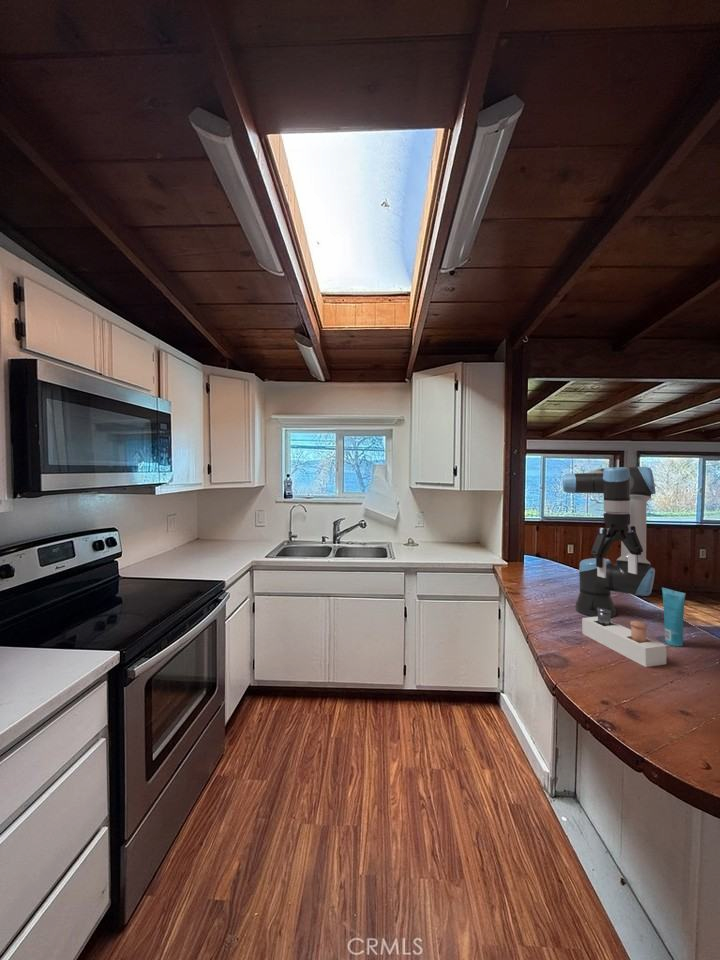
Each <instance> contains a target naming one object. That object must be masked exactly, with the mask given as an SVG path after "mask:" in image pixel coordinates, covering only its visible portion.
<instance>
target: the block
mask: <svg viewBox="0 0 720 960" xmlns="http://www.w3.org/2000/svg"><path fill="white" fill-rule="evenodd" d="M581 618H582V620H581V622H582V625H581V626H582V631H581V632H582V634H583V635H584V636H586V637H588V638H590V639H591V640H594V641H595V642H597V643H600V644H601V645H603V646H605V647H607V648H608V649H611V650H613V651H614V652H616V653H617V654H620V655H622V656H624V657H626V658H627V659H630V660H632V661H633V662H635V663H637V664H638V665H641V666H643V667H645V668H649V667H656V666H662V665H667V645H666V644H663V643H661V642H659V641H657V640H655V639H653V638H650V637H648V636H646V642H644V643H638V642H636V641H634V640H632V639H631V628H628V627H626V626H623V625H621V624H619V623H616V622H614V621H612V620H611V626H602V625H600V624H598V616H597V617H593V616H589V617H581Z"/></svg>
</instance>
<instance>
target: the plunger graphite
mask: <svg viewBox="0 0 720 960" xmlns="http://www.w3.org/2000/svg"><path fill="white" fill-rule="evenodd" d="M597 611H598V624H600V625H602V626H611V621H612V620H611V618H612V617H610V613H611V609H609V608H606V607H597Z"/></svg>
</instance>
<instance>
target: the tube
mask: <svg viewBox="0 0 720 960" xmlns="http://www.w3.org/2000/svg"><path fill="white" fill-rule="evenodd" d="M661 592H662V603H663V618H664V619H663V620H664V622H663V624H664V640H665V643H666V644H667V645H670V646H673V647H683V645H684V614H685V613H684V612H685V599H686V594H687V593H686V592H681V591H677V590H673V589H670V588H667V587H666V588H665V587H661Z"/></svg>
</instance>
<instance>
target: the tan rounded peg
mask: <svg viewBox="0 0 720 960" xmlns="http://www.w3.org/2000/svg"><path fill="white" fill-rule="evenodd" d="M647 627H648V624H647V623H645V622H644V621H640V620H631V621H630V630H631V639H632V640H634V641H636V642H638V643H644V642H646V637H647Z"/></svg>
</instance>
